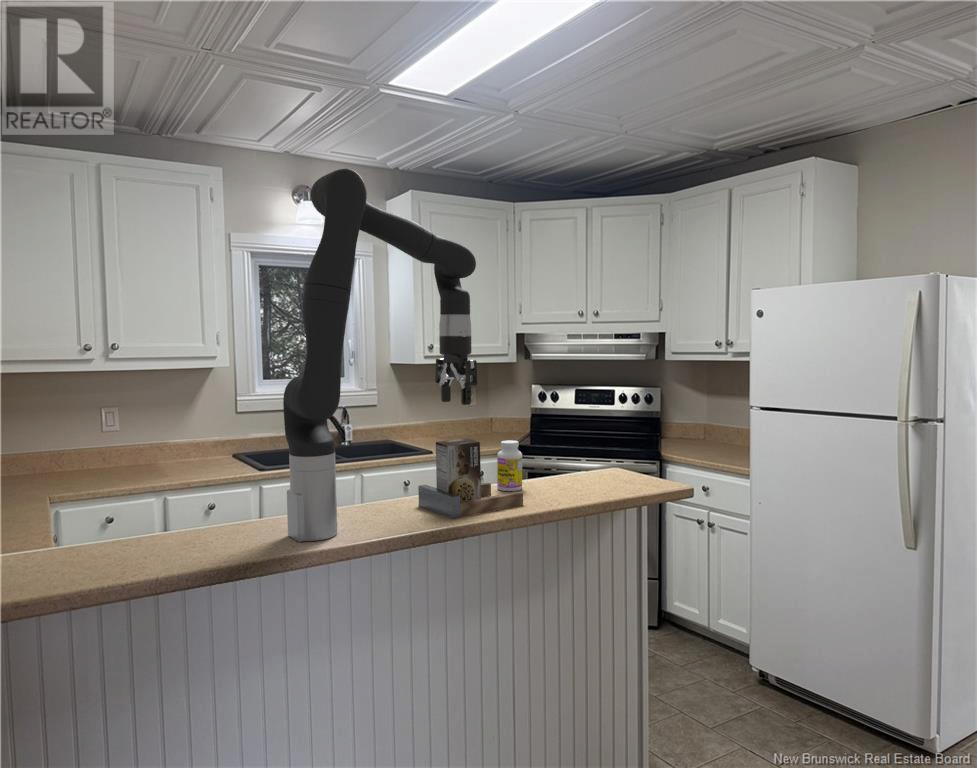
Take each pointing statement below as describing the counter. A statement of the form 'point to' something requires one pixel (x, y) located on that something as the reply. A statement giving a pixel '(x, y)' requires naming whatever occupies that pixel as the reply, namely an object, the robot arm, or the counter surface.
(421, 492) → the bar
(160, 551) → the counter surface
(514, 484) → the supplement bottle
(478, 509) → the guide rails
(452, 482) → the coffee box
